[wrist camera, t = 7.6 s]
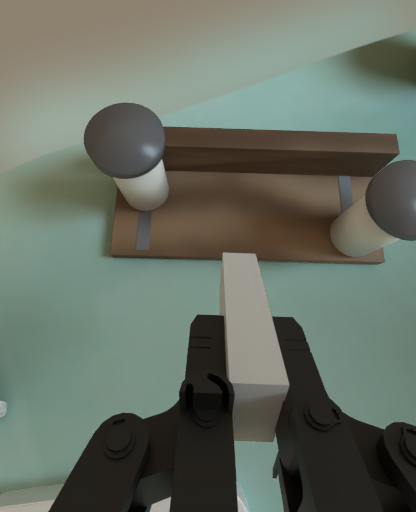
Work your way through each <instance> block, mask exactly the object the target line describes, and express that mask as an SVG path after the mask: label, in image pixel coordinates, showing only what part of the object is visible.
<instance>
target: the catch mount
mask: <svg viewBox="0 0 416 512" xmlns="http://www.w3.org/2000/svg"><path fill="white" fill-rule="evenodd" d="M163 130H164V135H165V140H166V148H165V153H164V155H163V158H162V161H163V165H164V169H165V173H166V177H167V181H168V185H169V194H168V197H167V199H166V201H165V202H164V203H163V204H162V205H161V206H160V207H158V208H156V209H154V210H150V211H141V210H137V209H135V208H133V207H132V206H131V205H129V203H128V202H127V201H126V199H125V197H124V196H123V194H122V192H121V191H120V189H119V187H118V189H117V198H116V207H115V215H114V224H113V233H112V241H111V250H110V255H111V256H112V257H123V258H160V259H198V260H222V255H223V253H250V254H256V257H257V261H272V262H310V263H347V264H381V263H383V262H385V261H384V254H383V247H382V248H380V249H378V250H375V251H373V252H371V253H369V254H366V255H364V256H361V257H351V256H347V255H345V254H343V253H341V252H340V251H339V250H338V249H337V248H336V247H335V246H334V245H333V243H332V241H331V238H330V227H331V224H332V222H333V221H334V220H335V219H336V218H337V217H338V216H339V215H341V214H342V213H343V212H344V211H346V210H347V209H348V208H349V207H350V206H352V205H353V204H354V203H355V202H357V201H358V200H359V199H360V198H362V197H363V196H364V195H365V193H366V189H367V186H368V184H369V182H370V181H371V179H372V178H373V176H375V175H376V174H377V173H378V172H379V171H380V170H381V169H382V168H384V167H385V166H386V165H387V164H388V163H389V162H390V161H392V160H393V159H394V158H395V157H396V156H397V155H398V154H400V153H399V147H398V141H397V135H396V134H377V133H346V132H315V131H284V130H253V129H222V128H191V127H163Z"/></svg>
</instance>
